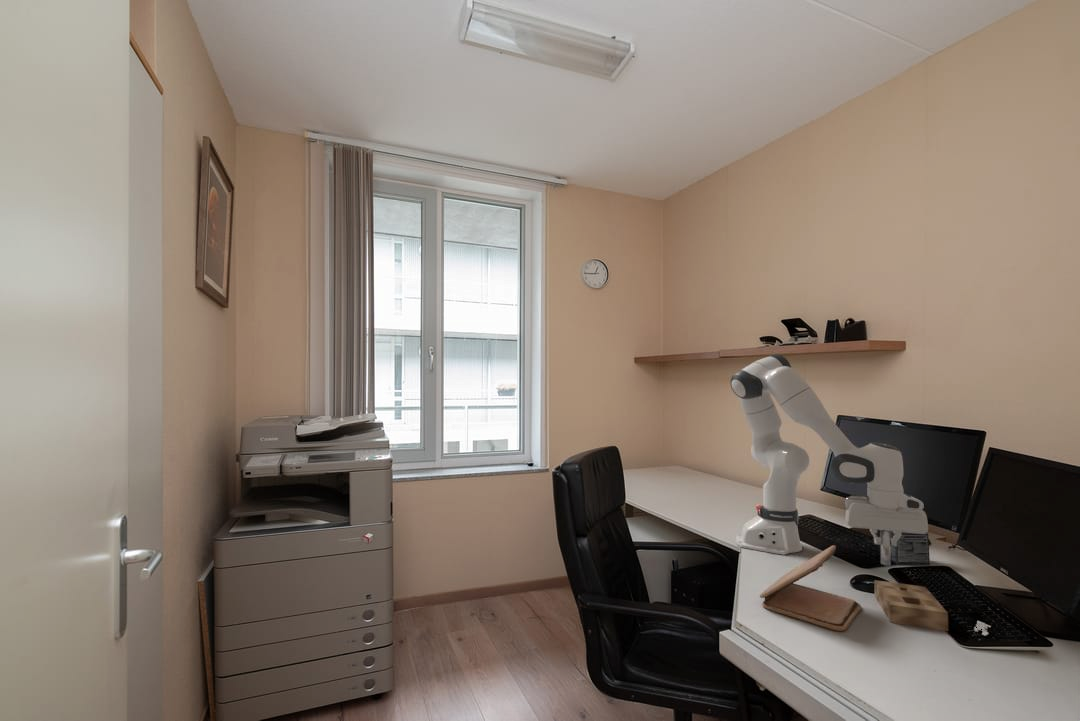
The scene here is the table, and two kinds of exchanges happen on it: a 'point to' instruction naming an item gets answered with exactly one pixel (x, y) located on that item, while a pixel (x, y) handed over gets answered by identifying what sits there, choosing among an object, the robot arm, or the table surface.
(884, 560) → the gauge pin
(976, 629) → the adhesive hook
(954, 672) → the table surface
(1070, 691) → the table surface
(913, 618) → the wooden flat block
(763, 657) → the table surface
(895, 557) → the small box
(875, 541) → the robot arm
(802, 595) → the case
